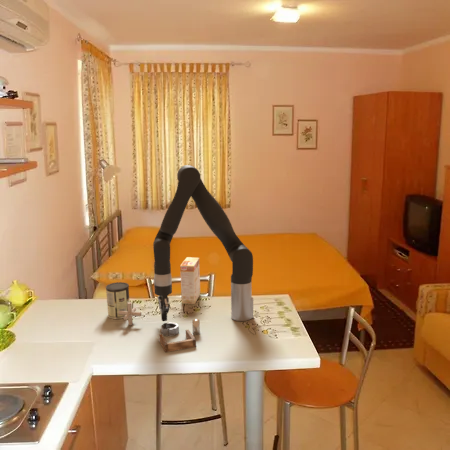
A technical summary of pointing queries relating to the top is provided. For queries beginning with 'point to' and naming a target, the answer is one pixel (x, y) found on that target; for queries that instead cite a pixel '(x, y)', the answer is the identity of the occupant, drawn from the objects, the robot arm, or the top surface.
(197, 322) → the beige rounded cylinder
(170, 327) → the metal ring
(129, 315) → the pipe connector
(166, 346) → the groove block
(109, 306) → the coffee can
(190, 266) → the coffeecake box
